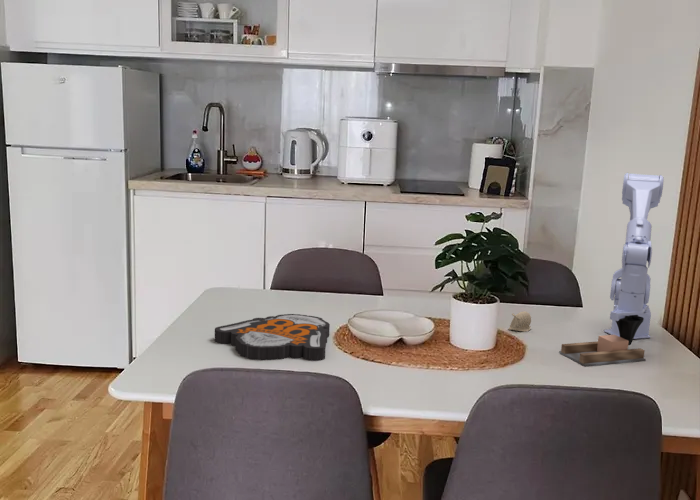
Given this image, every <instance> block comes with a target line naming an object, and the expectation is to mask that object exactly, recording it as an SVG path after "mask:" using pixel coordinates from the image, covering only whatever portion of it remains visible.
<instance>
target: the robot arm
mask: <svg viewBox="0 0 700 500" xmlns="http://www.w3.org/2000/svg"><path fill="white" fill-rule="evenodd" d="M664 180H665V179H664V176H663V175H662V174H659V175H658V174H657V175H656V174H645V173H644V174H643V173H629V172H625V173H624V175H623V182H622V191H621V201H622V204H623V205H625V206H626V207H627V208H628V211H629V215H630V216H629V221H628V222H627V225H626V234H625V244H623V246H622V256H621V267H620V268H619V269H617V270H615V271H614V273H613V274H612V279H611V286H610V292H609V293H610V295H609V299H610V300H611V301H613V310H612V311H610V313H609V315H610V316H609V320H611V327H610V328H609V329H603V332H605V333H607V334H608V335H617V336H619V337H621V338H624V339H626V340H628V341H629V343H628V347H629V346H631V345H632V343H633V340H636V339H637V340H638V339H650V338H651V335H649V333H650V325H651V317H652V312H651V309H650V305H648V304H649V300H650V294H651V293H650V292H651V277H650V275H649V274H648V268H650V266H651V263H652V255H653V246H652V240H651V237H652V227H653V226H652V224H651V223H652V222H650V221H649V220H648V216H649V213H650V211H651V209H653V208H656V207H657V208H658V206H659V204H660V202H661V197H662V196H663V195H662V194H663V189H664V182H665V181H664Z"/></svg>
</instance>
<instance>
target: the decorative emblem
mask: <svg viewBox="0 0 700 500" xmlns="http://www.w3.org/2000/svg"><path fill="white" fill-rule="evenodd" d="M329 337H330V323H329V322H327V320H324V319H323V318H322V317H319V316H315V315H307V314H298V313H287V314H277V315H270V316H266V317H255V318H252V319H248V320H243V321H239V322H234V323H230V324H225V325H221V326H217V327H214V342H215V343H217V344H219V345H230V346H232V347H235V351H236V352H237V354H238V355H240V357H242V358H246V359H249V360H252V361H253V360H254V361H256V360H257V361H274V360H275V361H277V360H285V359H288V358H290V359H294V360H295V359H296V360H297V359H302V358H303V359H304V360H306V361H311V362H314V361H315V362H318V361H323V360H325V359H326V347H327V343H328V338H329Z"/></svg>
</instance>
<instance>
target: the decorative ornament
mask: <svg viewBox="0 0 700 500" xmlns="http://www.w3.org/2000/svg"><path fill="white" fill-rule="evenodd" d="M511 315H512V317H513V318H512V320H511V321H510V322H511V323H510V325H509V327H508V328H507V330H509V331H510V330H511V331H516V332H524V333H526V332H529V331H530V330H531V324H532V316H531V314H530V312H528V311H525V310H524V311H519V312H518V313H516V314H515V313H511Z"/></svg>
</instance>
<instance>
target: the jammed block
mask: <svg viewBox="0 0 700 500" xmlns="http://www.w3.org/2000/svg"><path fill="white" fill-rule="evenodd" d="M597 341H598V345H597V352H603V351H615V350H627V349H628V348H629V346H628V343H629V341H628V340H626V339H624V338H621V337H619V336H617V335H611V334H606V335H598V336H597Z"/></svg>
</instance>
